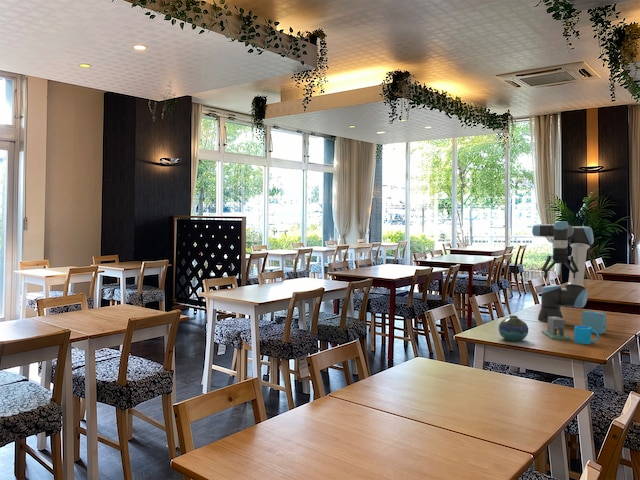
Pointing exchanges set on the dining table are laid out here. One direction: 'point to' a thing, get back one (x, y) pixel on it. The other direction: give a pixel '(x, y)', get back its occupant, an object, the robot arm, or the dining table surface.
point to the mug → (583, 335)
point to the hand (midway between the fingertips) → (559, 283)
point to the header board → (556, 335)
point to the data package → (594, 321)
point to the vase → (513, 329)
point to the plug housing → (556, 325)
